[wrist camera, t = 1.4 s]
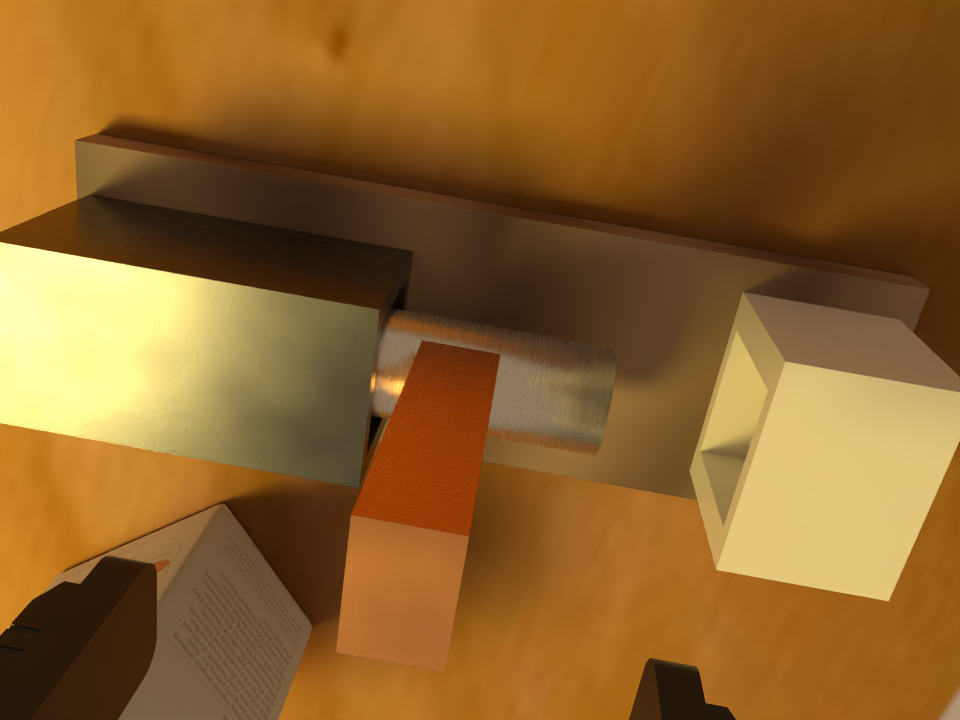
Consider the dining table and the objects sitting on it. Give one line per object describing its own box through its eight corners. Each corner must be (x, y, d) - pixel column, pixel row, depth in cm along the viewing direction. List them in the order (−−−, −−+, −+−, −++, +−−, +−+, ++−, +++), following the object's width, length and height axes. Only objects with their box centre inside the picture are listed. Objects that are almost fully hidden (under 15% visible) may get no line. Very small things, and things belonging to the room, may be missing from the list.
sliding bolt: (129, 341, 25) (-147, 562, 15) (128, 245, 24) (-173, 419, 14) (590, 424, 25) (609, 702, 15) (612, 331, 24) (647, 568, 14)
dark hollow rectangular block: (95, 349, 27) (-2, 422, 22) (90, 194, 25) (-18, 239, 20) (393, 403, 26) (359, 487, 22) (413, 251, 24) (379, 309, 20)
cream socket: (689, 470, 26) (716, 569, 22) (742, 291, 24) (785, 361, 19) (831, 496, 26) (888, 601, 22) (899, 319, 24) (979, 396, 19)
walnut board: (103, 373, 28) (84, 389, 27) (96, 133, 25) (75, 139, 24) (826, 504, 28) (837, 525, 27) (913, 276, 25) (930, 289, 24)
